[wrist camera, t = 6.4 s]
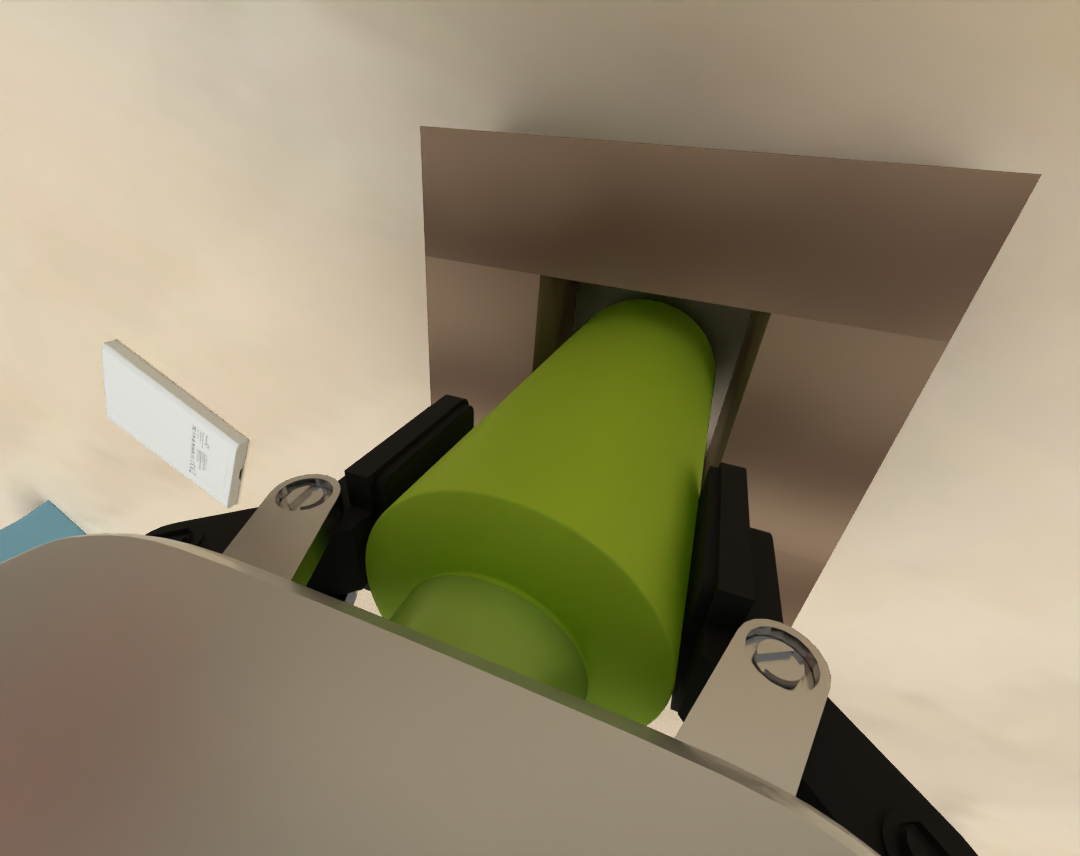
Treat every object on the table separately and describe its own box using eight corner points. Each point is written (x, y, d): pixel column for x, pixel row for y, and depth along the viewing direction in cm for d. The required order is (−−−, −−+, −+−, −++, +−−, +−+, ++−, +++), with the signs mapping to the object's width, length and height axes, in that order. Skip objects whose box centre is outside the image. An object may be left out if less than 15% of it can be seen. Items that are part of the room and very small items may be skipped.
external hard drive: (125, 337, 34) (255, 436, 34) (128, 412, 39) (242, 500, 38) (100, 343, 33) (235, 446, 33) (106, 420, 37) (224, 511, 37)
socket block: (489, 139, 18) (420, 126, 14) (951, 177, 14) (1041, 174, 10) (481, 464, 26) (435, 515, 22) (776, 550, 22) (787, 634, 18)
